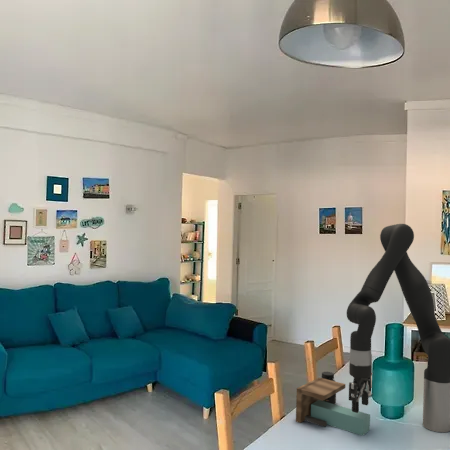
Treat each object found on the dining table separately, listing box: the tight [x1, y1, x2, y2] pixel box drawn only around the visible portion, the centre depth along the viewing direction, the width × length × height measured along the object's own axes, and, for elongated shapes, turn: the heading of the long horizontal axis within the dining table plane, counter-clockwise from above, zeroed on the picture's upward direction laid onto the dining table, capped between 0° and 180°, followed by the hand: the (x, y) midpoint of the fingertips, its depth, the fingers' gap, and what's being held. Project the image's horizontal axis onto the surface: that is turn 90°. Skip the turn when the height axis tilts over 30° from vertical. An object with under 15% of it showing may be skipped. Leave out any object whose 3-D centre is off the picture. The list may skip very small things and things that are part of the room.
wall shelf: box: [295, 377, 346, 428], centre depth 175 cm, size 17×11×12 cm, turn 141°
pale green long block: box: [311, 400, 371, 436], centre depth 170 cm, size 6×20×6 cm, turn 51°
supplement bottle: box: [321, 371, 337, 405], centre depth 190 cm, size 7×7×12 cm
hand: (360, 408), depth 165 cm, fingers open, 8 cm apart
